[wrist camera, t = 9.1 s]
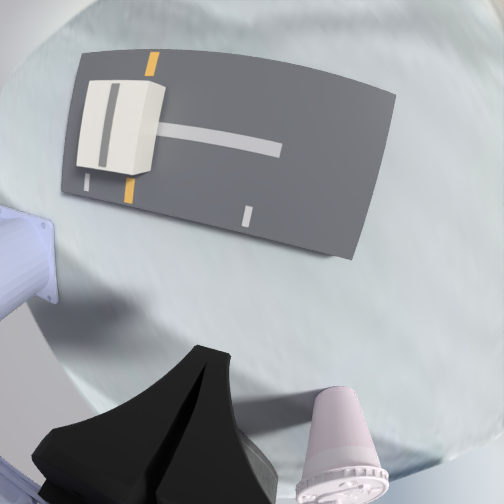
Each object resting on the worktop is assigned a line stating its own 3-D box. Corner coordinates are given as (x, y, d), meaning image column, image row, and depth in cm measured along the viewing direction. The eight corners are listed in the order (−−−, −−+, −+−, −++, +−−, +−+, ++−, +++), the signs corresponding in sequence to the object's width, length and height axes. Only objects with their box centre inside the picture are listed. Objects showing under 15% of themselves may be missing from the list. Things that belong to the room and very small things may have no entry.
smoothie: (283, 404, 24) (268, 552, 11) (336, 362, 21) (352, 534, 8) (334, 429, 24) (338, 559, 11) (385, 393, 22) (415, 535, 9)
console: (73, 187, 19) (60, 191, 18) (94, 57, 16) (81, 53, 14) (347, 251, 18) (351, 260, 17) (388, 98, 15) (396, 94, 13)
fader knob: (96, 162, 16) (75, 165, 14) (109, 85, 15) (88, 80, 13) (150, 170, 16) (131, 175, 14) (165, 87, 14) (148, 80, 12)
